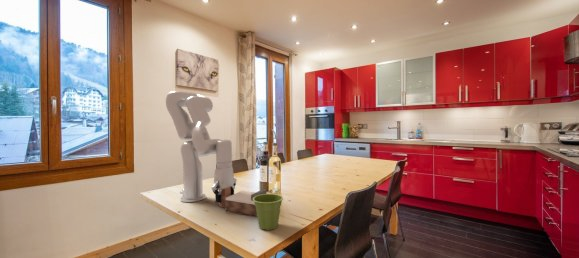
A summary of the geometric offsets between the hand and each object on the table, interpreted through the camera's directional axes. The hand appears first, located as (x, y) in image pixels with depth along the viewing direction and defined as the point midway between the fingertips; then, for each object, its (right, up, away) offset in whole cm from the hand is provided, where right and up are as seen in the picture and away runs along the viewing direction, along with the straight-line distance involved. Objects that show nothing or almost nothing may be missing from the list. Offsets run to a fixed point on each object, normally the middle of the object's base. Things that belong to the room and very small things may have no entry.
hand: (225, 199), depth 118 cm
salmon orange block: (0, -3, 0) cm, 3 cm away
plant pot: (+24, -3, -25) cm, 34 cm away
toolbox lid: (+13, +2, -6) cm, 15 cm away
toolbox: (+13, -3, -6) cm, 15 cm away
